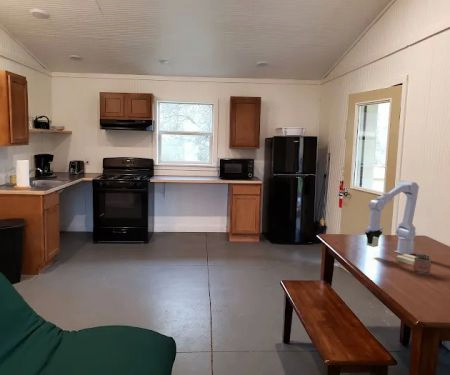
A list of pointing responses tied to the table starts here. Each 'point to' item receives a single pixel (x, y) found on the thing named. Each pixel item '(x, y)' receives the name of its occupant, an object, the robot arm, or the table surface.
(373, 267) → the table surface
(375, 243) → the sage block
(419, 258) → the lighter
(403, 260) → the maple block
